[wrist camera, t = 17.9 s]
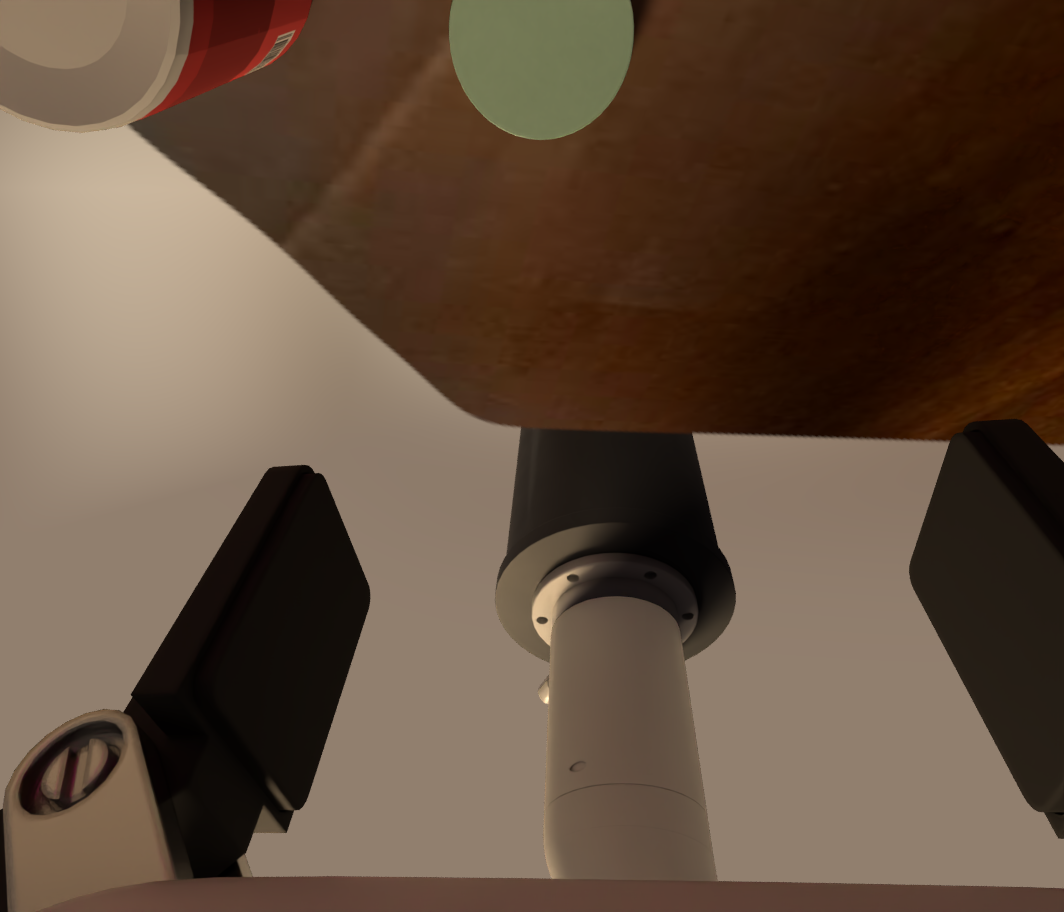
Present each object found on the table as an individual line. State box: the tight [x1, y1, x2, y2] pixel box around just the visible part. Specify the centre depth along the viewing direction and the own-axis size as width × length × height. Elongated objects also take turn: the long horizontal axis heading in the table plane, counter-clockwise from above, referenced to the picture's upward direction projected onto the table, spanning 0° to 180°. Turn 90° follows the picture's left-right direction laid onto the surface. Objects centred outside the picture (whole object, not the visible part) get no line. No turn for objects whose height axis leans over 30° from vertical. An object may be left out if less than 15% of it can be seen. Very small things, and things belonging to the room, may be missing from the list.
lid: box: [449, 0, 634, 140], centre depth 24 cm, size 7×7×2 cm
